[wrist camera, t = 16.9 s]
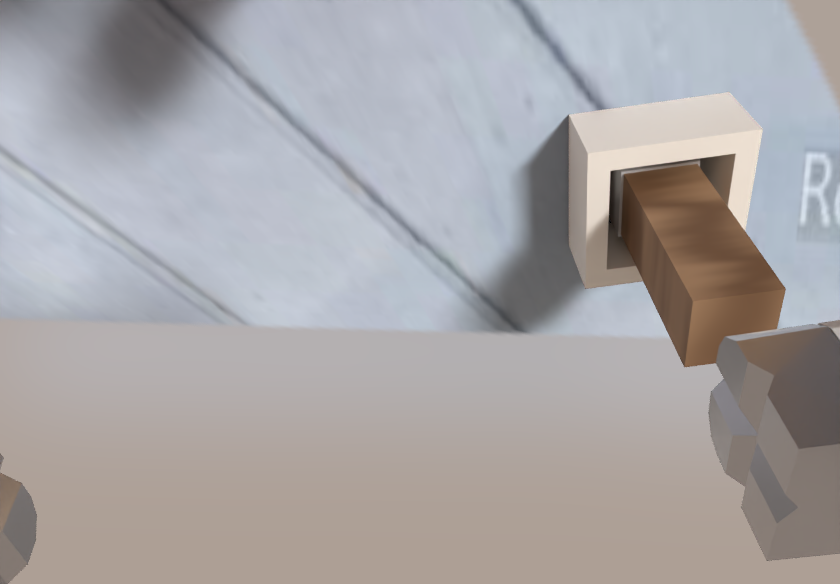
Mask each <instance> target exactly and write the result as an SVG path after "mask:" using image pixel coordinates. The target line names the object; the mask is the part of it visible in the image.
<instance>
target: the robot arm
mask: <svg viewBox="0 0 840 584" xmlns="http://www.w3.org/2000/svg"><path fill="white" fill-rule="evenodd" d="M716 364H717V366H718V368H719V370H720V372H721V374H722V376H723V378H724V379H723V380H722V381H721V382H720V383H719V384H718V385H717V386H716V387H715V388H714V389H713V390H712V391H711V396H710V404H709V421H710V430H711V437H712V440H713V443H714V447H715V450H716V453H717V456H718V458H719V460H720V463H721V465H722V467H723V469H724V471H725V473H726V474H727V475H729V476H730V477H732V478H733V479H735V480H736V481H738V482H739V483H740V484H742V485H743V486H745V492H744V497H743V501H742V506H741V508H742V510H743V512H744V514H745V516H746V518H747V520H748V523H749V525H750V526H751V529H752V531H753V533H754V535H755V537H756V539H757V541H758V543H759V546H760V548H761V550H762V552H763V554H764V556H765V558H766V560H767V561H769V560H780V559H790V558H800V557H810V556H820V555H830V554H839V553H840V320H837V321H830V322H823V323H819V324H817V325H816V324H809V325H802V326H796V327H789V328H782V329H775V330H768V331H761V332H754V333H747V334H740V335H733V336H726V337H724V339H723V340H722V342H721V344H720V345H719V348H718V354H717V359H716ZM3 459H4V458H3V456H2V455H1V454H0V468H1V465H2V462H3ZM36 520H37V514H36V511H35V508H34V504H33V501H32V498H31V496H30V494H29V493H28V492H27V490H26V489H25V487H24V486H23V484H22V483H21V482H18V481H16V480H14V479H12V478H10V477H8V476H6V475H4V474H2V473H0V584H8V583H9V582H10V581H11V580H12V579H13V578H14V577H15V576H16V575H17V574H18V573H19V572H20V571H21V570H22V569H23V568H24V567H25V566H26V565H27V564H28V562H29V559H30V556H31V553H32V550H33V547H34V544H35V541H36Z"/></svg>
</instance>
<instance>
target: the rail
mask: <svg viewBox="0 0 840 584" xmlns="http://www.w3.org/2000/svg"><path fill="white" fill-rule="evenodd" d="M609 218H610V221H611V223H612V225H613V227H614V229H615V231H616V233H617V235H618V237H620V236H622V238H623V240H624V242H625V244H626V246H627V248H628V250H629V252H630V254H631V257H632V259H633V261H634V263H635V265H636V267H637V269H638V271H639V273H640V275H641V277H642V280H643V282H644V284H645V286H646V288H647V290H648V292H649V294H650V296H651V298H652V300H653V303H654V305H655V307H656V309H657V311H658V313H659V315H660V317H661V319H662V321H663V323H664V326H665V328H666V330H667V332H668V334H669V336H670V338H671V340H672V342H673V344H674V346H675V349H676V351H677V353H678V355H679V357H680V359H681V361H682V363H683V365H684V367H690V366H697V365H705V364H713V363H716V359H717V354H718V348H719V345H720V344H721V342H722V340H723V339H724V337H726V336H733V335H740V334H747V333H754V332H761V331H768V330H775V329H777V325H778V321H779V317H780V312H781V308H782V303H783V299H784V294H785V290H786V289H785V287H784V286H783V284H782V283H781V281H780V280H779V279H778V277H777V276H776V274H775V273H774V272H773V270H772V269H771V267H770V266H769V264H768V263H767V262H766V260H765V259H764V257H763V256H762V255H761V253H760V252H759V250H758V249H757V247H756V246H755V245H754V243H753V242H752V240H751V239H750V238H749V236H748V235H747V233H746V232H745V230H744V229H743V228H742V226H741V225H740V223H739V222H738V221H737V219H736V218H735V216H734V215H733V213H732V212H731V211H730V209H729V208H728V206H727V205H726V204H725V202H724V201H723V199H722V198H721V197H720V195H719V194H718V192H717V191H716V189H715V188H714V187H713V185H712V184H711V182H710V181H709V180H708V178H707V177H706V175H705V174H704V172H703V171H702V170H701V168H700V160H699V159H692V160H684V161H677V162H670V163H663V164H655V165H648V166H641V167H634V168H627V169H619V170H612V171H610V196H609Z"/></svg>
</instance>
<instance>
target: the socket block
mask: <svg viewBox="0 0 840 584" xmlns="http://www.w3.org/2000/svg"><path fill="white" fill-rule="evenodd" d="M762 131H763V129H762V128H761V127H760V125H759V124H758V123H757V122H756V121H755V120H754V119H753V118H752V117H751V116H750V114H749V113H748V112H747V111H746V110H745V109H744V108H743V107H742V106H741V105H740V103H739V102H738V101H737V100H736V99H735V98H734V97H733V96H732V95H731V93H730V92H726V93H719V94H711V95H704V96H697V97H690V98H683V99H676V100H669V101H662V102H654V103H647V104H640V105H633V106H626V107H619V108H612V109H605V110H597V111H590V112H583V113H576V114H569V247H570V249H571V252H572V255H573V257H574V260H575V263H576V265H577V268H578V271H579V273H580V276H581V279H582V281H583V284H584V287H585V289H589V288H596V287H604V286H611V285H618V284H626V283H633V282H641V281H643V280H642V277H641V275H640V273H639V271H638V269H637V267H636V265H635V263H634V261H633V259H632V257H631V254H630V252H629V250H628V248H627V246H626V244H625V242H624V240H623V238H622V236H620V237H618V235H617V233H616V231H615V229H614V227H613V225H612V223H608V222H609V196H610V171H612V170H619V169H627V168H634V167H641V166H648V165H655V164H663V163H670V162H677V161H684V160H692V159H699V158H700V168H701V170H702V171H703V172H704V174H705V175H706V177H707V178H708V180H709V181H710V182H711V184H712V185H713V187H714V188H715V189H716V191H717V192H718V194H719V195H720V197H721V198H722V199H723V201H724V202H725V204H726V205H727V206H728V208H729V209H730V211H731V212H732V213H733V215H734V216H735V218H736V219H737V221H738V222H739V223H740V225H741V226H742V228H743V229H744V230H745V229H746V223H747V217H748V211H749V206H750V200H751V194H752V188H753V183H754V177H755V171H756V165H757V160H758V154H759V148H760V142H761V137H762Z"/></svg>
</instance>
